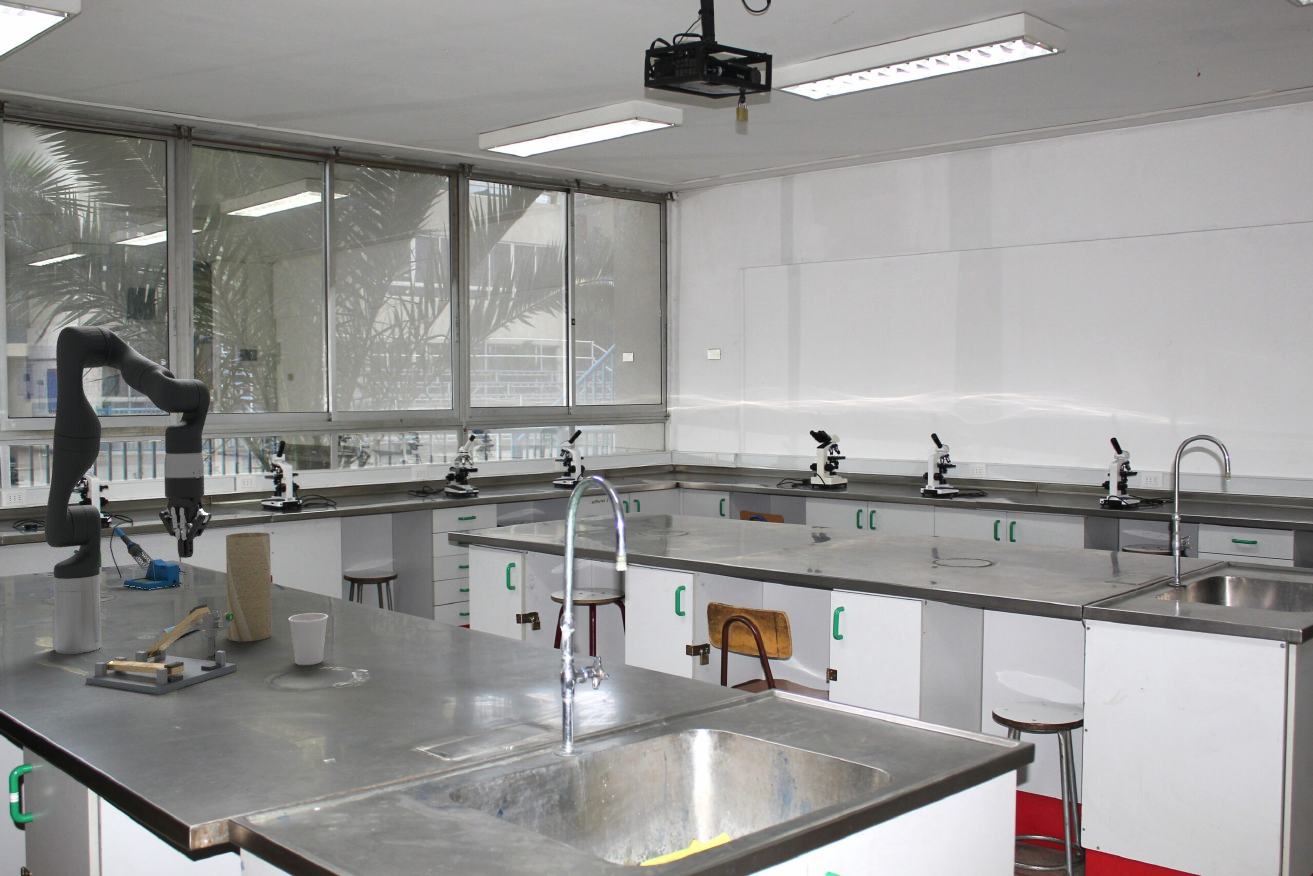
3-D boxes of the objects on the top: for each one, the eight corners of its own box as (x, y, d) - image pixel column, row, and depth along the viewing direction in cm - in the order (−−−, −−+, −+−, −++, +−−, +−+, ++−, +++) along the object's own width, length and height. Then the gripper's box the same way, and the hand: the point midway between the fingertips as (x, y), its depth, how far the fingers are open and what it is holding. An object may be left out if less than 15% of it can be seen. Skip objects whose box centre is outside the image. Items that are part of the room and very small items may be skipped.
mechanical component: (228, 658, 234) (227, 614, 234) (187, 656, 236) (186, 612, 236) (236, 655, 237) (235, 611, 237) (195, 653, 239) (194, 610, 239)
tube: (236, 643, 249) (234, 538, 248) (221, 636, 256) (219, 534, 255) (278, 637, 255) (276, 535, 254) (262, 630, 263) (261, 531, 262)
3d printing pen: (165, 629, 247) (154, 632, 248) (169, 642, 247) (157, 645, 247) (207, 616, 267) (196, 618, 267) (210, 628, 266) (199, 631, 267)
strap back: (144, 660, 225) (140, 652, 225) (155, 657, 228) (152, 649, 228) (199, 614, 218) (195, 606, 219) (210, 612, 221) (206, 604, 222)
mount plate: (86, 685, 213) (85, 663, 213) (166, 662, 231) (166, 642, 231) (159, 695, 205) (159, 672, 205) (236, 670, 224) (236, 650, 223)
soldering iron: (201, 570, 360) (200, 516, 360) (259, 578, 344) (258, 522, 343) (101, 585, 331) (100, 527, 330) (159, 595, 314) (158, 534, 313)
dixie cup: (316, 667, 226) (315, 621, 226) (281, 665, 228) (280, 620, 228) (335, 658, 235) (335, 613, 234) (301, 656, 236) (301, 612, 236)
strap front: (102, 670, 216) (101, 660, 216) (114, 666, 218) (114, 657, 218) (172, 675, 208) (171, 665, 208) (184, 671, 211) (183, 662, 211)
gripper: (146, 475, 218) (147, 557, 219) (193, 476, 213) (194, 561, 214) (175, 472, 225) (177, 553, 226) (222, 474, 220) (223, 556, 220)
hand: (185, 557), depth 220 cm, fingers closed
